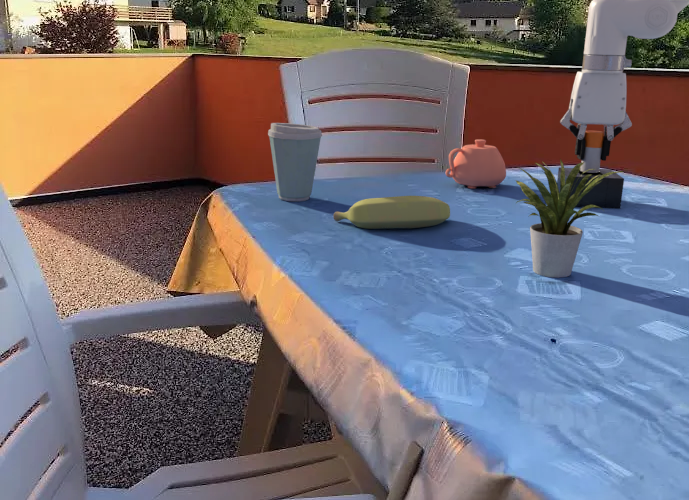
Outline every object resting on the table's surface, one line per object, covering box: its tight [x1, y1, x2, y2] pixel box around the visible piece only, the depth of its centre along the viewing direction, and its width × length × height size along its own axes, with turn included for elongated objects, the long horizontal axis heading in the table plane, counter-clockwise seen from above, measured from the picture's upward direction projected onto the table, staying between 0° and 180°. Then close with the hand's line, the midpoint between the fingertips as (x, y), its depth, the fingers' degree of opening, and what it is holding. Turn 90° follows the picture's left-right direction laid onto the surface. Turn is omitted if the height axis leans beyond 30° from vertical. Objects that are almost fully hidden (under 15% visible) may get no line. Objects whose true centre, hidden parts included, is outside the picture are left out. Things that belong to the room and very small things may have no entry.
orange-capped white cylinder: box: [580, 130, 604, 173], centre depth 142 cm, size 4×4×8 cm
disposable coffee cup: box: [267, 122, 323, 203], centre depth 141 cm, size 11×11×15 cm
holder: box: [556, 166, 625, 210], centre depth 144 cm, size 11×11×6 cm
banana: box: [332, 195, 451, 230], centre depth 124 cm, size 14×6×20 cm
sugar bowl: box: [445, 138, 507, 190], centre depth 158 cm, size 12×14×10 cm
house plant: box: [514, 158, 622, 279], centre depth 98 cm, size 14×14×16 cm
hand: (591, 158), depth 142 cm, fingers closed on orange-capped white cylinder, 3 cm apart
